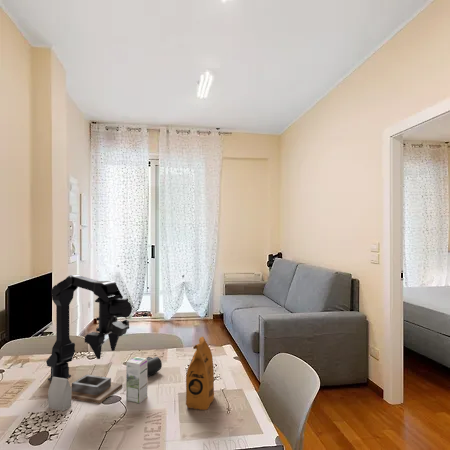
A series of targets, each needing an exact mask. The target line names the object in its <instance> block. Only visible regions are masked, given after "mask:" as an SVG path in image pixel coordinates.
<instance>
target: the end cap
mask: <svg viewBox="0 0 450 450" xmlns="http://www.w3.org/2000/svg"><path fill="white" fill-rule="evenodd" d="M146 358H147V378H148V377H150V376H152V375H154V374H156V373H158V372H159V371H161V369H162V368H163V367H162V366H163V364H162V359H161V358H160V357H158V356H154V357H150V356H147V357H146Z"/></svg>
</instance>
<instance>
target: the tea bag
mask: <svg viewBox="0 0 450 450" xmlns="http://www.w3.org/2000/svg"><path fill="white" fill-rule="evenodd" d="M71 391H72V389H71V385H70V382H69V379H68V378H67V379H64V378H58V377H52V381H51V382H50V384H49V387H48V391H47V393H48V394H47V395H48V396H47V401H48V403H47V408H48V409H53V410H57V411H61V412H62V411H63V412H64V411H66V410H67V409H68V408H71V406H72V399H71Z"/></svg>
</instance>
